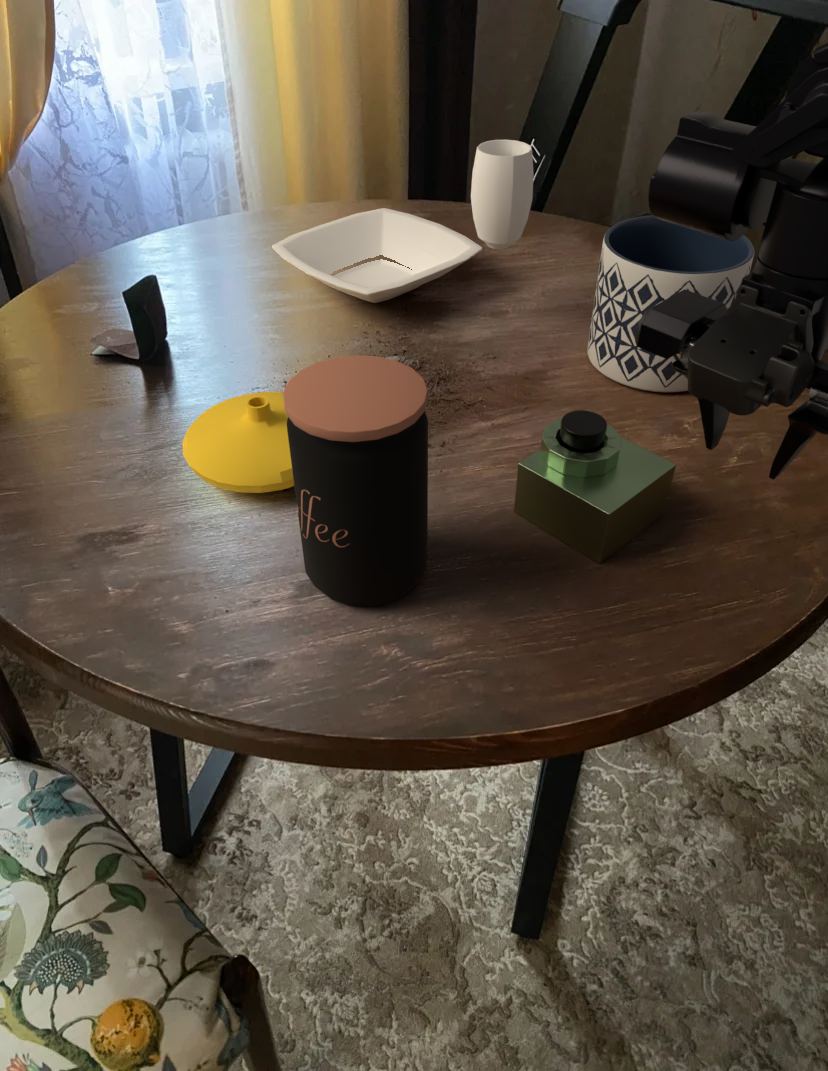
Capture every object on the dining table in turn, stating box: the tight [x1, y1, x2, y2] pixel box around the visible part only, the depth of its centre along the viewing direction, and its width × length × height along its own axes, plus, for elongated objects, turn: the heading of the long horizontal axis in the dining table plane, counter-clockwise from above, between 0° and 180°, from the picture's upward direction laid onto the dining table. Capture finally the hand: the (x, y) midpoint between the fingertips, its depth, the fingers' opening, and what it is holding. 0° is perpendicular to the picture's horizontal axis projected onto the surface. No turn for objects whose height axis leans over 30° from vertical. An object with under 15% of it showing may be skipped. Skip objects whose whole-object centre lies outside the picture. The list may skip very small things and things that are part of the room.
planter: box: [587, 214, 755, 393], centre depth 95 cm, size 16×16×14 cm
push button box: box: [513, 417, 677, 565], centre depth 76 cm, size 10×10×8 cm
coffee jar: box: [282, 354, 429, 608], centre depth 67 cm, size 11×11×18 cm
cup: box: [470, 139, 535, 251], centre depth 102 cm, size 7×7×21 cm
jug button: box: [559, 409, 608, 453], centre depth 74 cm, size 4×4×2 cm
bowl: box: [271, 207, 483, 304], centre depth 114 cm, size 22×23×6 cm
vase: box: [181, 391, 294, 494], centre depth 83 cm, size 16×16×7 cm
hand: (742, 461), depth 63 cm, fingers open, 5 cm apart
